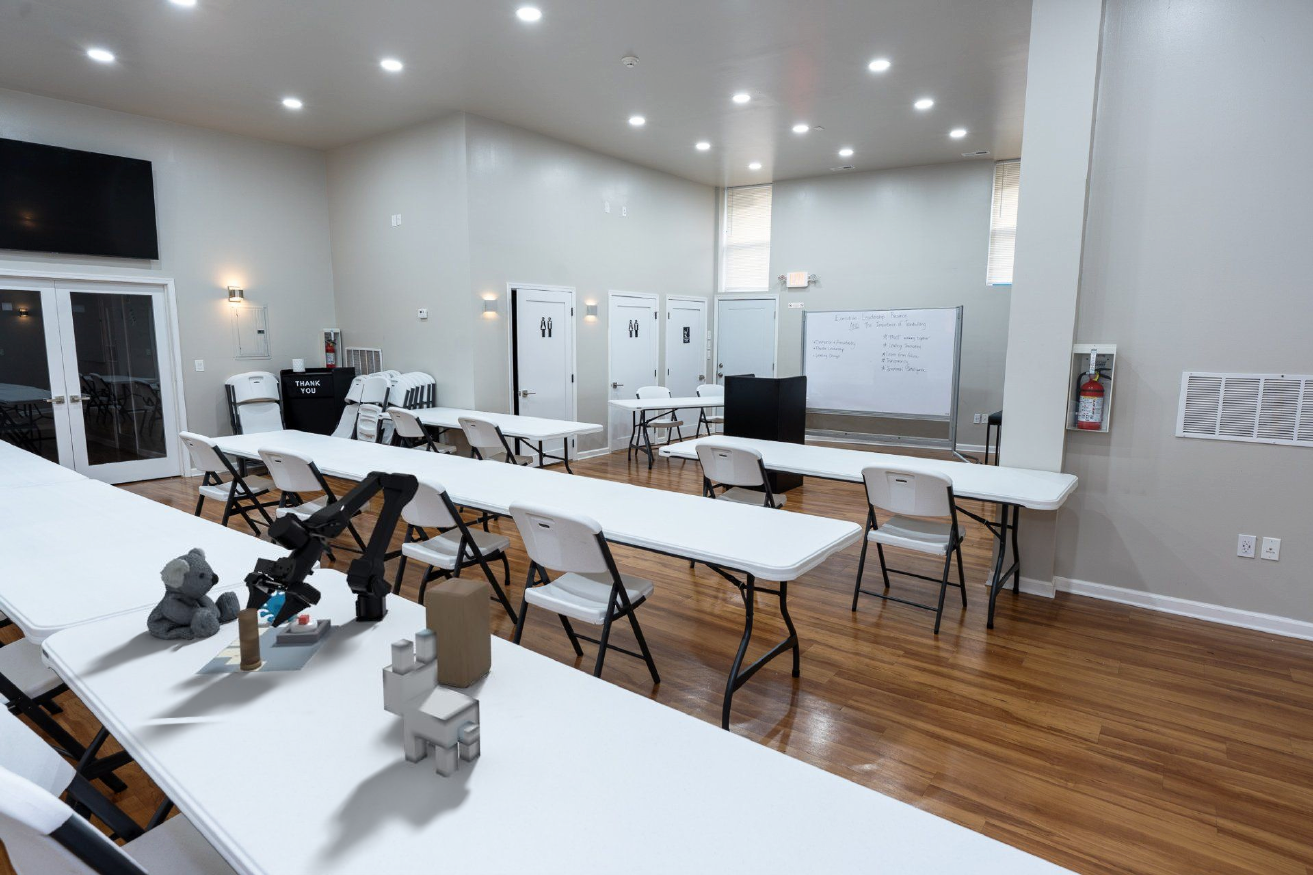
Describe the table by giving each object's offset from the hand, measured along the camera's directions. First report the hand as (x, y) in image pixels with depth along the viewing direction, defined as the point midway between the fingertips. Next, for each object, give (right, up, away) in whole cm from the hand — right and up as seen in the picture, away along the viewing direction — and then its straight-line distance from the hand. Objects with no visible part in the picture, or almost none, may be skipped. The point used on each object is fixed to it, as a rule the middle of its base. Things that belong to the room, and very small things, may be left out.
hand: (258, 623), depth 147 cm
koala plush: (-29, -7, +20) cm, 36 cm away
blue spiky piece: (-10, -7, +27) cm, 30 cm away
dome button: (+2, -7, +15) cm, 17 cm away
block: (+44, -11, -2) cm, 46 cm away
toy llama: (+49, -15, -30) cm, 59 cm away
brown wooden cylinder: (-1, -9, -1) cm, 9 cm away
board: (-2, -9, +9) cm, 12 cm away
